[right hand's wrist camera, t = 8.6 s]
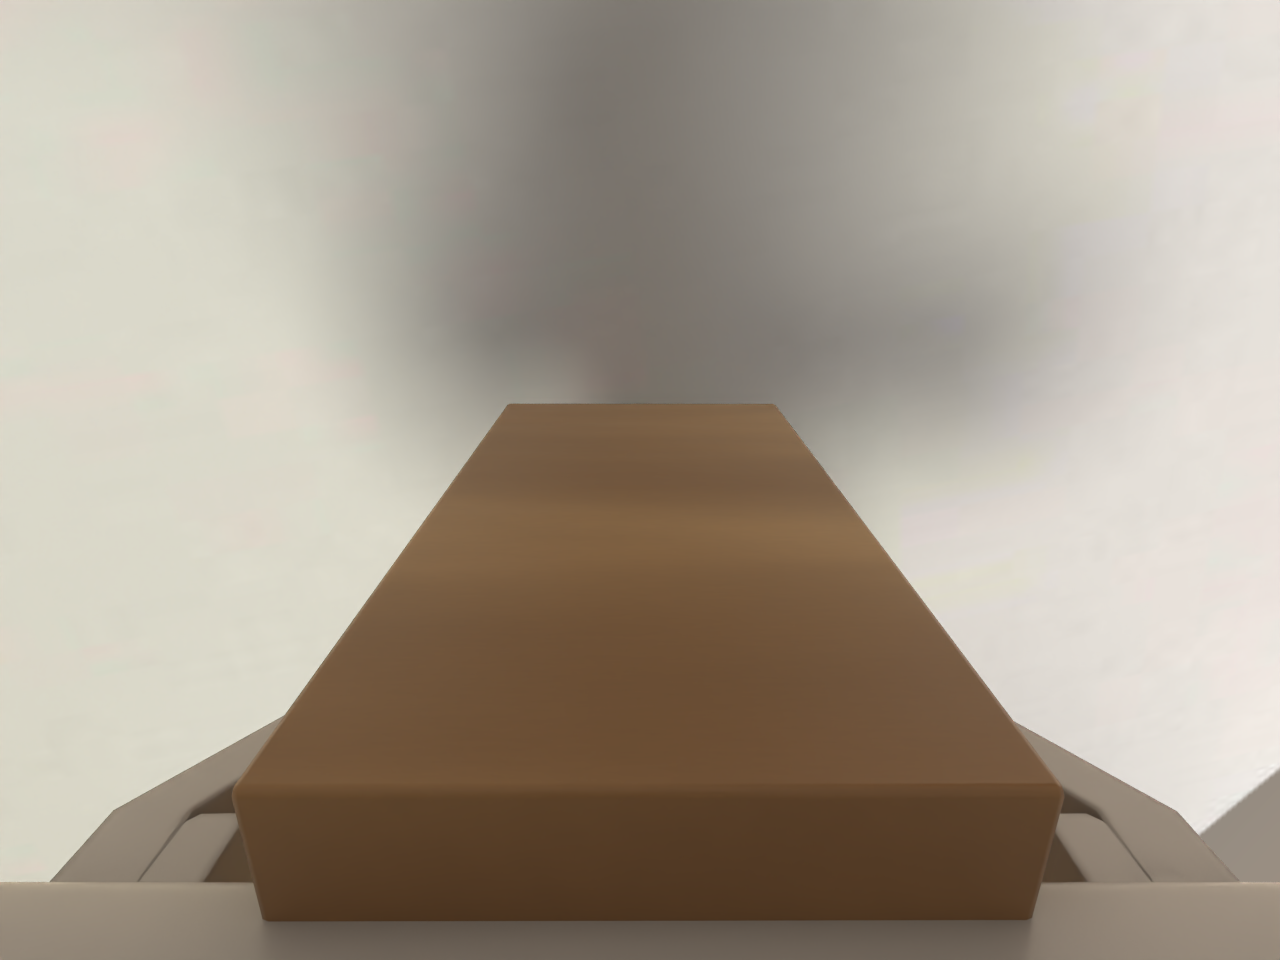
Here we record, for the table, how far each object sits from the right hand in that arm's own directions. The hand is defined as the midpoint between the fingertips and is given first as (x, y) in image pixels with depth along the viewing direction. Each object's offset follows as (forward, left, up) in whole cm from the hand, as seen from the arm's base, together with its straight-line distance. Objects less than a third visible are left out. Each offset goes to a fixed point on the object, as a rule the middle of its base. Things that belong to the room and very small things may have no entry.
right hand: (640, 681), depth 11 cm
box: (+7, 0, -6) cm, 9 cm away
